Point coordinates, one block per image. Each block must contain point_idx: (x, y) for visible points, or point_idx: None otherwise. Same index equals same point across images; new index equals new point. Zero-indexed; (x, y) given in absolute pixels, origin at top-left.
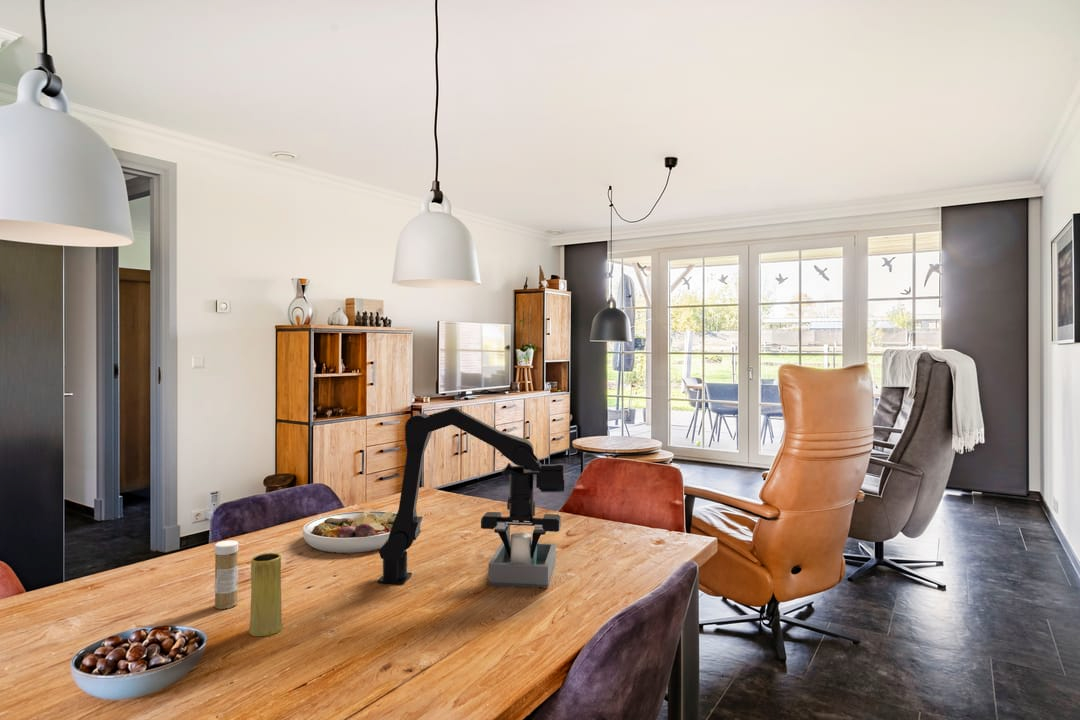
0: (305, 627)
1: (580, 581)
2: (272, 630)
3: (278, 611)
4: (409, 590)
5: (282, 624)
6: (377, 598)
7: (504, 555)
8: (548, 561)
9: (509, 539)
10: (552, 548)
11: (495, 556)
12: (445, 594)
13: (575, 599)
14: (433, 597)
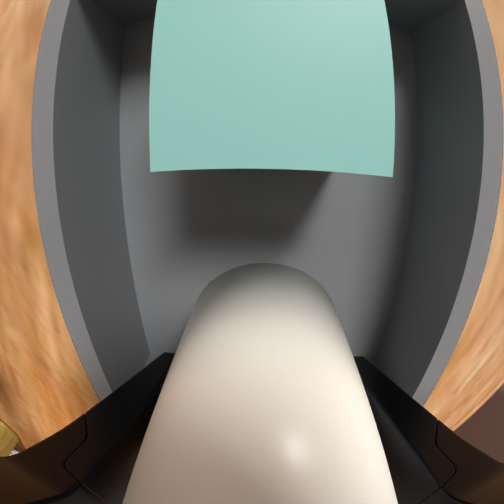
0: (23, 435)
1: (495, 272)
2: (17, 441)
3: (8, 448)
4: (8, 361)
5: (9, 430)
6: (3, 384)
7: (108, 44)
8: (437, 373)
9: (127, 479)
10: (494, 90)
11: (77, 326)
12: (73, 395)
13: (434, 400)
14: (64, 403)
